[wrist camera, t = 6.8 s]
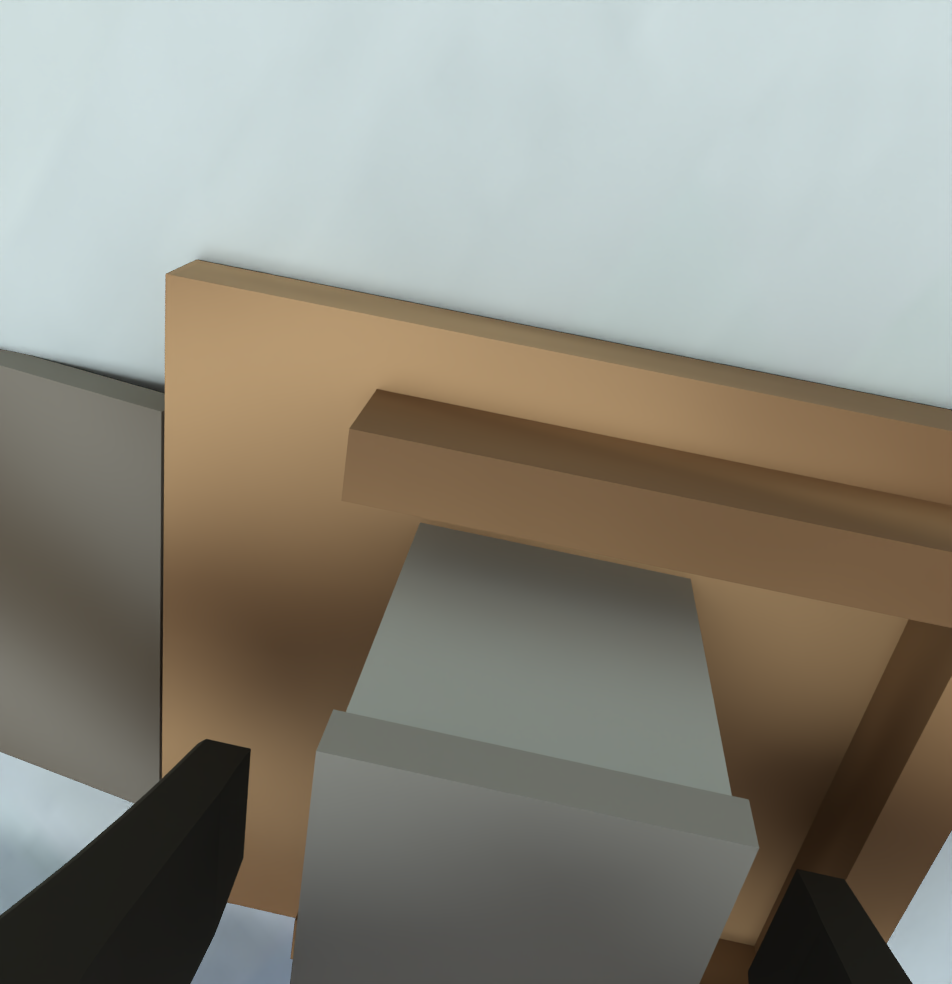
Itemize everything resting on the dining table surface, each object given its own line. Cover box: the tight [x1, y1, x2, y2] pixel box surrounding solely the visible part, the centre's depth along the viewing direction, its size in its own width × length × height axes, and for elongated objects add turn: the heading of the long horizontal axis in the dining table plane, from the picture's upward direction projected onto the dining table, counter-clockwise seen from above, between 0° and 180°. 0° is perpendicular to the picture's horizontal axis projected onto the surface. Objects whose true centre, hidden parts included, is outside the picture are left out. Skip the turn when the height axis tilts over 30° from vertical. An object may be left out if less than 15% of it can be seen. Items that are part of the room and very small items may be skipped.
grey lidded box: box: [290, 523, 759, 984], centre depth 12 cm, size 6×4×5 cm
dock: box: [0, 260, 952, 984], centre depth 14 cm, size 12×18×3 cm, turn 80°
